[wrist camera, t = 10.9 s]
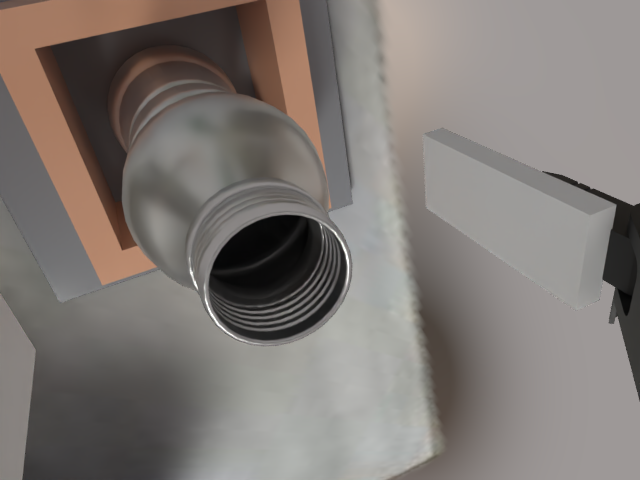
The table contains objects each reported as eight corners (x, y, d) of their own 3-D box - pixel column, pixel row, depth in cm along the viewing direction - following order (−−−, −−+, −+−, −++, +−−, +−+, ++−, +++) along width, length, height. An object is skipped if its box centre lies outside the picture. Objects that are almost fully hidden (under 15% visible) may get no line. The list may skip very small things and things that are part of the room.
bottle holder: (346, 198, 37) (394, 242, 31) (60, 294, 32) (55, 367, 26) (300, -142, 26) (361, -170, 20) (-143, -78, 21) (-225, -90, 15)
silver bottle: (168, 11, 26) (296, 65, 10) (252, 109, 30) (449, 269, 13) (77, 97, 26) (48, 296, 10) (173, 183, 30) (269, 433, 13)
